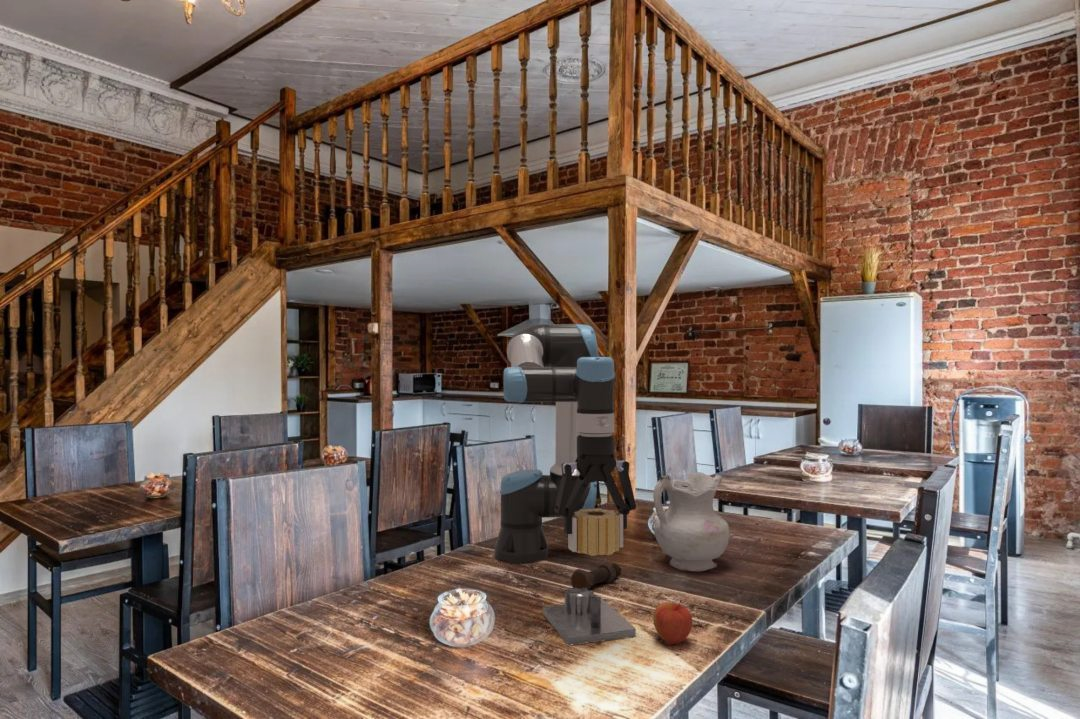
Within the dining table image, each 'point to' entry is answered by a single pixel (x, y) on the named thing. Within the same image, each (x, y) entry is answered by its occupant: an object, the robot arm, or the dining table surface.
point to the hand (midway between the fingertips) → (595, 547)
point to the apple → (672, 622)
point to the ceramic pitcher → (690, 522)
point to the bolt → (595, 576)
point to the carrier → (587, 618)
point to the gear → (597, 531)
